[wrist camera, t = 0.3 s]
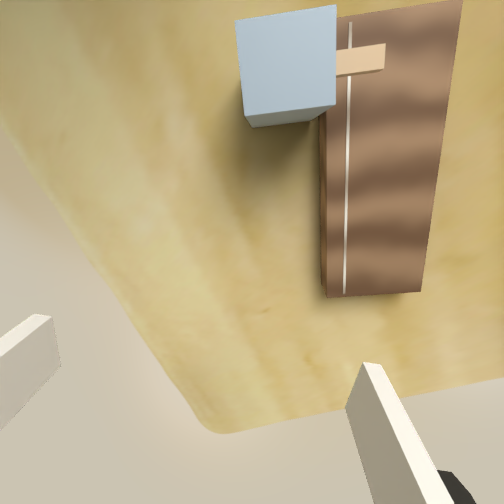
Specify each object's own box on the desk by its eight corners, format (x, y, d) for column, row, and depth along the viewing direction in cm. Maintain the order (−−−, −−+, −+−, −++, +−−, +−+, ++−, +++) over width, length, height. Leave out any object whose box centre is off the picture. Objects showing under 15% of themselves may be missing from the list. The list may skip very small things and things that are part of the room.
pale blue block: (246, 69, 29) (234, 20, 18) (346, 55, 28) (398, -6, 17) (252, 127, 32) (244, 116, 20) (345, 116, 31) (390, 97, 19)
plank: (318, 36, 28) (326, 18, 24) (436, 19, 27) (464, -3, 23) (321, 283, 39) (327, 298, 35) (405, 277, 38) (421, 292, 34)
